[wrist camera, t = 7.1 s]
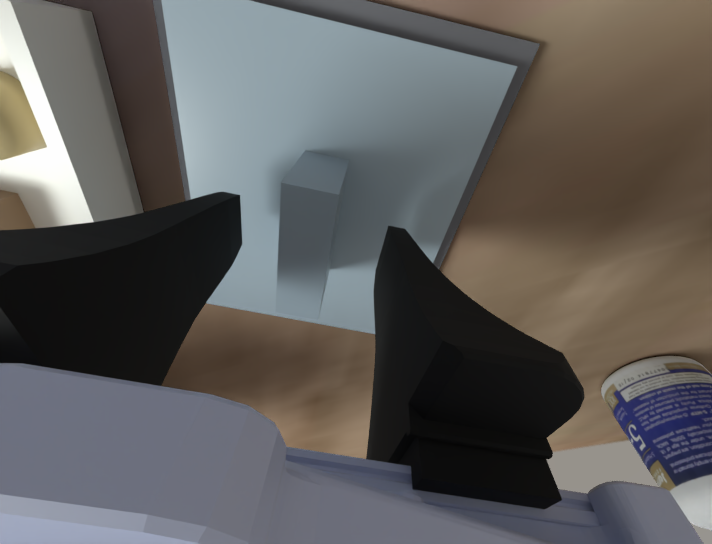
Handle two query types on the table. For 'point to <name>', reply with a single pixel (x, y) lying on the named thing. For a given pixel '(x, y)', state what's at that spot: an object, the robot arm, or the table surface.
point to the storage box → (58, 122)
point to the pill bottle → (669, 426)
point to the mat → (350, 7)
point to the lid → (323, 147)
